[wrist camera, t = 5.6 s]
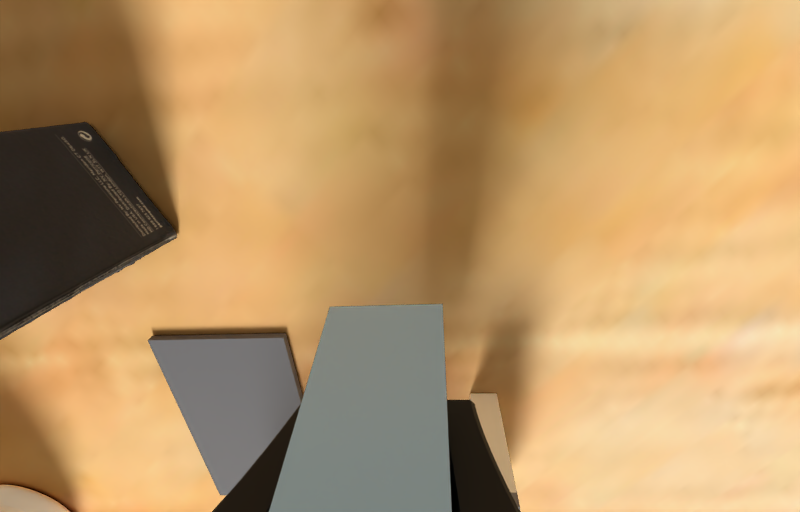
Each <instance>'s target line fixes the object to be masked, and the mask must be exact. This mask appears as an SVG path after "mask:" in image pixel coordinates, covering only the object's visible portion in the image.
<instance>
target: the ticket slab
mask: <svg viewBox="0 0 800 512" xmlns="http://www.w3.org/2000/svg"><path fill="white" fill-rule="evenodd" d="M269 512H452V507H451V484H450V462H449V439H448V416H447V393H446V371H445V348H444V325H443V304H418V305H380V306H341V307H330V308H329V311H328V315H327V318H326V321H325V325H324V328H323V332H322V335H321V338H320V342H319V345H318V348H317V352H316V355H315V358H314V362H313V365H312V369H311V372H310V375H309V379H308V382H307V385H306V389H305V392H304V395H303V399H302V402H301V406H300V409H299V412H298V416H297V419H296V422H295V426H294V429H293V432H292V436H291V439H290V443H289V446H288V449H287V453H286V456H285V459H284V463H283V466H282V470H281V473H280V476H279V480H278V483H277V486H276V490H275V493H274V496H273V500H272V503H271V507H270V510H269Z"/></svg>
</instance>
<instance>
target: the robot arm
mask: <svg viewBox="0 0 800 512" xmlns="http://www.w3.org/2000/svg"><path fill="white" fill-rule="evenodd" d="M300 406H301V404H300V405H299V407H298V408H297V409H296V410H295V412H294V413H293V414H292V416H291V417H290V418H289V420H288V421H287V422H286V424H285V425H284V426H283V427H282V429H281V430H280V431H279V433H278V434H277V435H276V436H275V438H274V439H273V440H272V441H271V443H270V444H269V445H268V447H267V448H266V449H265V450H264V452H263V453H262V454H261V455H260V456H259V458H258V459H257V460H256V461H255V463H254V464H253V465H252V466H251V467H250V469H249V470H248V471H247V472H246V473H245V475H244V476H243V477H242V478H241V480H240V481H239V482H238V483H237V484H236V485H235V487H234V488H233V489H232V490H231V491H230V492H229V493H228V494H227V496H226V497H225V498H224V499H223V500H222V501H221V502H220V503H219V505H218V506H217V507H216V508H215V509H214V510H213V511H212V512H269V510H270V507H271V503H272V500H273V496H274V493H275V490H276V486H277V483H278V480H279V476H280V473H281V470H282V466H283V463H284V459H285V456H286V453H287V449H288V446H289V443H290V439H291V436H292V432H293V429H294V426H295V422H296V419H297V416H298V412H299V409H300ZM447 416H448V439H449V462H450V484H451V507H452V512H520V510H519V508H518V506H517V504H516V502H515V500H514V498H513V496H512V494H511V492H510V490H509V488H508V486H507V484H506V482H505V480H504V478H503V476H502V474H501V472H500V469H499V467H498V465H497V463H496V461H495V459H494V456H493V454H492V452H491V449H490V447H489V444H488V442H487V440H486V437H485V434H484V432H483V429H482V426H481V424H480V421H479V417H478V414H477V411H476V407H475V404H474V403H473V402H472V401H471V400H447Z"/></svg>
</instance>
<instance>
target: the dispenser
mask: <svg viewBox="0 0 800 512" xmlns="http://www.w3.org/2000/svg"><path fill="white" fill-rule="evenodd" d="M470 400H471V401H472V402H473V403H474V404H475V407H476V411H477V414H478V417H479V421H480V424H481V426H482V429H483V432H484V434H485V437H486V440H487V442H488V444H489V447H490V449H491V452H492V454H493V456H494V459H495V461H496V463H497V465H498V467H499V469H500V472H501V474H502V476H503V478H504V480H505V482H506V484H507V486H508V488H509V490H510V492H511V494H512V496H513V498H514V500H515V502H516V504H517V506H518V508H519V510H520V505H519V500H518V495H517V491H516V486H515V481H514V476H513V471H512V466H511V461H510V456H509V451H508V446H507V441H506V437H505V432H504V427H503V422H502V417H501V412H500V407H499V402H498V397H497V393H470Z"/></svg>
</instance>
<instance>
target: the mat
mask: <svg viewBox="0 0 800 512" xmlns="http://www.w3.org/2000/svg"><path fill="white" fill-rule="evenodd" d="M148 342H149V344H150V346H151V349H152V351H153V353H154V355H155V357H156V359H157V361H158V363H159V366H160V368H161V370H162V372H163V374H164V376H165V378H166V381H167V383H168V385H169V387H170V389H171V391H172V393H173V396H174V398H175V400H176V402H177V404H178V406H179V408H180V410H181V413H182V415H183V417H184V419H185V421H186V423H187V425H188V428H189V430H190V432H191V434H192V436H193V438H194V440H195V443H196V445H197V447H198V449H199V451H200V453H201V455H202V458H203V460H204V462H205V464H206V466H207V468H208V470H209V472H210V475H211V477H212V479H213V481H214V483H215V485H216V487H217V490H218V492H219V494H220V495H227V494H228V493H229V492H230V491H231V490H232V489H233V488H234V487H235V485H236V484H237V483H238V482H239V481H240V480H241V478H242V477H243V476H244V475H245V473H246V472H247V471H248V470H249V469H250V467H251V466H252V465H253V464H254V463H255V461H256V460H257V459H258V458H259V456H260V455H261V454H262V453H263V452H264V450H265V449H266V448H267V447H268V445H269V444H270V443H271V441H272V440H273V439H274V438H275V436H276V435H277V434H278V433H279V431H280V430H281V429H282V427H283V426H284V425H285V424H286V422H287V421H288V420H289V418H290V417H291V416H292V414H293V413H294V412H295V410H296V409H297V408H298V407H299V405H300V404H301V402H302V399H303V395H302V392H301V388H300V384H299V380H298V377H297V373H296V369H295V365H294V362H293V358H292V354H291V350H290V347H289V343H288V339H287V335H286V333H272V334H222V335H173V336H152V337H151V338H150V339H149V340H148Z"/></svg>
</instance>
